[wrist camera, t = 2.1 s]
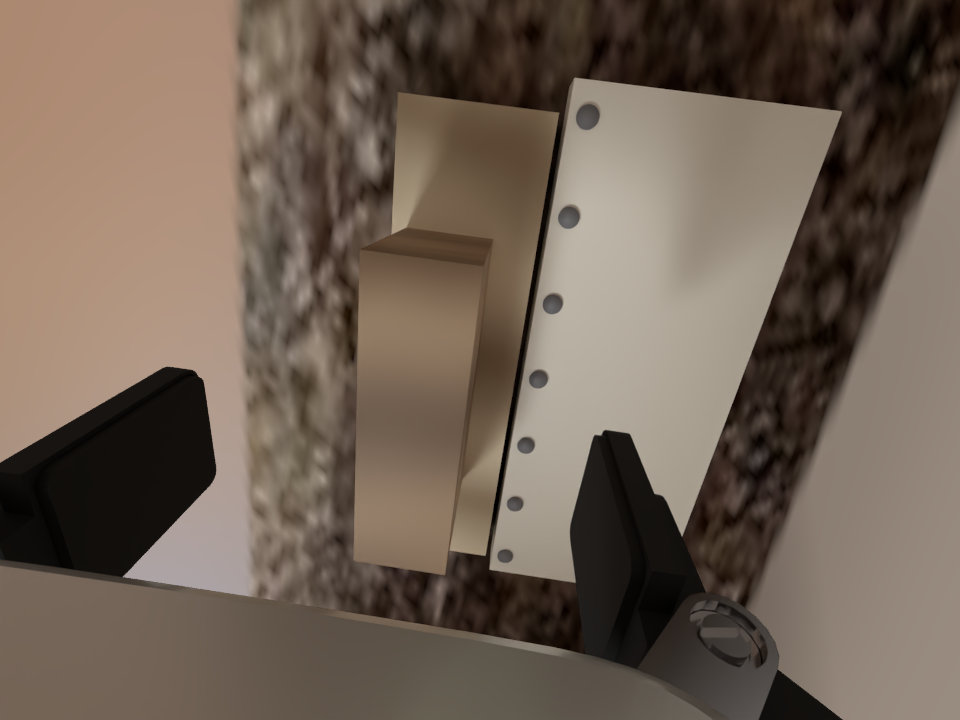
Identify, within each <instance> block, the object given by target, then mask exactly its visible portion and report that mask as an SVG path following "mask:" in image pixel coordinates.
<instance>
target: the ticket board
mask: <svg viewBox="0 0 960 720" xmlns="http://www.w3.org/2000/svg"><path fill="white" fill-rule="evenodd" d="M841 113H842V111H835V110H827V109H819V108H811V107H803V106H795V105H787V104H779V103H771V102H763V101H755V100H747V99H739V98H732V97H724V96H716V95H708V94H700V93H692V92H684V91H676V90H668V89H660V88H652V87H644V86H636V85H628V84H621V83H613V82H605V81H597V80H589V79H581V78H574V80H573V81H572V83H571V85H570V86H569V92H568V98H567V103H566V109H565V115H564V121H563V127H562V133H561V139H560V144H559V150H558V156H557V162H556V168H555V174H554V180H553V186H552V191H551V197H550V203H549V209H548V215H547V221H546V227H545V232H544V238H543V244H542V250H541V256H540V262H539V268H538V274H537V279H536V285H535V291H534V297H533V303H532V309H531V315H530V320H529V326H528V332H527V338H526V344H525V350H524V356H523V361H522V367H521V373H520V379H519V385H518V391H517V397H516V403H515V408H514V414H513V420H512V426H511V432H510V438H509V444H508V449H507V455H506V461H505V467H504V473H503V479H502V485H501V491H500V496H499V502H498V508H497V514H496V520H495V526H494V532H493V537H492V543H491V554H490V569H489V570H495V571H501V572H508V573H515V574H521V575H528V576H534V577H541V578H547V579H554V580H561V581H567V582H574V583H576V580H575V573H574V565H573V558H572V550H571V543H570V524H571V520H572V516H573V512H574V508H575V505H576V501H577V497H578V493H579V489H580V486H581V482H582V478H583V474H584V470H585V466H586V463H587V459H588V455H589V451H590V447H591V443H592V440H593V437H594V435H602V433H603V431H604V430H610V431H617V432H624V433H629V434H630V435H631V437H632V440H633V442H634V445H635V447H636V449H637V452H638V454H639V457H640V459H641V462H642V464H643V467H644V469H645V472H646V474H647V477H648V479H649V482H650V484H651V487H652V489H653V491H654V494H658V495H662V496H663V497H664V498H665V500H666V501H667V503H668V506H669V508H670V510H671V513H672V515H673V517H674V520H675V522H676V524H677V526H678V529H679V531H680V533H681V536H683V533H684V531H685V528H686V525H687V523H688V520H689V517H690V515H691V512H692V509H693V507H694V504H695V501H696V499H697V496H698V493H699V491H700V488H701V485H702V483H703V480H704V477H705V475H706V472H707V469H708V467H709V464H710V462H711V459H712V456H713V454H714V451H715V448H716V446H717V443H718V440H719V438H720V435H721V432H722V430H723V427H724V424H725V422H726V419H727V416H728V414H729V411H730V408H731V406H732V403H733V400H734V398H735V395H736V392H737V390H738V387H739V384H740V382H741V379H742V376H743V374H744V371H745V368H746V366H747V363H748V361H749V358H750V355H751V353H752V350H753V347H754V345H755V342H756V339H757V337H758V334H759V331H760V329H761V326H762V323H763V321H764V318H765V315H766V313H767V310H768V307H769V305H770V302H771V299H772V297H773V294H774V291H775V289H776V286H777V283H778V281H779V278H780V275H781V273H782V270H783V268H784V265H785V262H786V260H787V257H788V254H789V252H790V249H791V246H792V244H793V241H794V238H795V236H796V233H797V230H798V228H799V225H800V222H801V220H802V217H803V214H804V212H805V209H806V206H807V204H808V201H809V198H810V196H811V193H812V190H813V188H814V185H815V182H816V180H817V177H818V175H819V172H820V169H821V167H822V164H823V161H824V159H825V156H826V153H827V151H828V148H829V145H830V143H831V140H832V137H833V135H834V132H835V129H836V127H837V124H838V121H839V119H840V116H841Z"/></svg>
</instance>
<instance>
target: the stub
mask: <svg viewBox="0 0 960 720" xmlns="http://www.w3.org/2000/svg"><path fill="white" fill-rule="evenodd" d="M558 117H559V113H556V112H549V111H541V110H533V109H525V108H517V107H509V106H502V105H494V104H486V103H478V102H470V101H463V100H455V99H447V98H439V97H431V96H424V95H416V94H408V93H400V92H398V104H397V126H396V148H395V170H394V192H393V214H392V235H390V236H388V237H385V238H383V239H381V240H379V241H377V242H375V243H373V244H371V245H368V246H366V247H364V248H362V249H360V264H359V314H358V364H357V414H356V464H355V513H354V561H356V562H362V563H369V564H376V565H382V566H389V567H395V568H402V569H408V570H415V571H421V572H428V573H434V574H441V575H445V573H446V567H447V562H448V556H449V550H450V551H456V552H463V553H469V554H476V555H483V556H486V550H487V544H488V538H489V532H490V526H491V520H492V514H493V508H494V502H495V496H496V490H497V484H498V478H499V472H500V466H501V460H502V454H503V448H504V442H505V436H506V430H507V424H508V417H509V411H510V405H511V399H512V393H513V387H514V381H515V375H516V369H517V363H518V357H519V351H520V345H521V339H522V333H523V327H524V321H525V315H526V309H527V303H528V297H529V291H530V285H531V279H532V273H533V267H534V261H535V255H536V249H537V243H538V237H539V231H540V225H541V219H542V213H543V207H544V201H545V195H546V189H547V183H548V177H549V171H550V165H551V159H552V153H553V147H554V141H555V135H556V129H557V123H558Z"/></svg>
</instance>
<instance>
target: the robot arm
mask: <svg viewBox="0 0 960 720" xmlns="http://www.w3.org/2000/svg"><path fill="white" fill-rule="evenodd" d="M215 475H216V464H215V457H214V449H213V443H212V435H211V429H210V421H209V415H208V407H207V400H206V394H205V387H204V382H203V380H202V378H200V377H198V375H197V373H196V372H195V371H193V370H188V369H181V368H174V367H165V368H162V369H161V370H159V371H157V372H155V373H154V374H152V375H150V376H148V377H147V378H145V379H143V380H142V381H140V382H138V383H137V384H135V385H133V386H131V387H130V388H128V389H126V390H124V391H123V392H121V393H119V394H118V395H116V396H115V397H112V398H111V399H109V400H108V401H106V402H104V403H102V404H100V405H99V406H97V407H95V408H93V409H92V410H90V411H88V412H87V413H85V414H84V415H82V416H80V417H78V418H76V419H75V420H73V421H71V422H69V423H68V424H66V425H64V426H63V427H61V428H59V429H57V430H56V431H54V432H52V433H51V434H49V435H47V436H45V437H44V438H42V439H40V440H38V441H37V442H35V443H33V444H32V445H30V446H28V447H27V448H25V449H23V450H21V451H20V452H18V453H16V454H14V455H13V456H11V457H9V458H8V459H6V460H4V461H3V462H1V463H0V720H842V719H841V718H840V717H838V716H837V715H836V714H835V713H833V712H832V711H831V710H829V709H828V708H827V707H826V706H824V705H823V704H822V703H820V702H819V701H818V700H817V699H815V698H814V697H813V696H811V695H810V694H809V693H807V692H806V691H805V690H803V689H802V688H801V687H800V686H798V685H797V684H796V683H794V682H793V681H792V680H791V679H789V678H788V677H787V676H785V675H784V674H782V672H780V671H779V670H778V663H779V654H778V650H777V647H776V644H775V641H774V640H773V638H772V636H771V635H770V633H769V632H768V630H767V628H766V627H765V626H764V625H763V624H762V623H761V622H760V621H759V620H758V619H757V618H756V616H754V615H753V614H752V613H751V612H749V611H748V610H747V609H745V608H744V607H743V606H741V605H740V604H738V603H736V602H734V601H732V600H730V599H729V598H726V597H723V596H720V595H717V594H714V593H706V591H705V589H704V587H703V584H702V582H701V580H700V577H699V575H698V573H697V570H696V568H695V566H694V564H693V561H692V559H691V557H690V554H689V552H688V550H687V547H686V545H685V543H684V540H683V538H682V536H681V533H680V531H679V529H678V526H677V524H676V522H675V520H674V517H673V515H672V513H671V510H670V508H669V506H668V503H667V501H666V500H665V498H664V497H663V496H662V495H658V494H654V491H653V489H652V487H651V484H650V482H649V479H648V477H647V474H646V472H645V469H644V467H643V464H642V462H641V459H640V457H639V454H638V452H637V449H636V447H635V445H634V442H633V440H632V437H631V435H630V434H629V433H624V432H617V431H610V430H604V431H603V433H602V435H594V437H593V440H592V443H591V447H590V451H589V455H588V459H587V463H586V466H585V470H584V474H583V478H582V482H581V486H580V489H579V493H578V497H577V501H576V505H575V508H574V512H573V516H572V520H571V524H570V543H571V550H572V558H573V565H574V573H575V580H576V588H577V595H578V603H579V610H580V618H581V625H582V633H583V640H584V648H585V654H581V653H577V652H572V651H568V650H564V649H559V648H555V647H550V646H544V645H539V644H533V643H528V642H522V641H517V640H511V639H505V638H500V637H494V636H489V635H483V634H478V633H472V632H467V631H460V630H454V629H448V628H442V627H436V626H430V625H424V624H417V623H411V622H405V621H399V620H393V619H387V618H380V617H374V616H368V615H362V614H356V613H350V612H344V611H337V610H331V609H325V608H318V607H312V606H306V605H299V604H293V603H287V602H280V601H274V600H268V599H261V598H255V597H249V596H242V595H235V594H229V593H223V592H216V591H209V590H204V589H197V588H190V587H184V586H178V585H171V584H164V583H158V582H151V581H144V580H138V579H131V578H125V577H123V576H124V575H125V574H126V573H127V572H128V571H129V570H130V569H131V568H132V567H133V566H134V564H135V563H136V562H137V561H138V560H139V559H140V558H141V557H142V556H143V555H144V554H145V553H146V552H147V551H148V550H149V549H150V548H151V547H152V546H153V545H154V543H155V542H156V541H157V540H158V539H159V538H160V537H161V536H162V535H163V534H164V533H165V532H166V531H167V530H168V529H169V528H170V527H171V526H172V525H173V524H174V523H175V521H176V520H177V519H178V518H179V517H180V516H181V515H182V514H183V513H184V512H185V511H186V510H187V509H188V508H189V507H190V506H191V505H192V504H193V503H194V501H196V499H197V498H198V497H199V496H200V495H201V494H202V493H203V492H204V491H205V490H206V489H207V488H208V487H209V486H210V485H211V483H212V482H213V480H214V478H215Z"/></svg>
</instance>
